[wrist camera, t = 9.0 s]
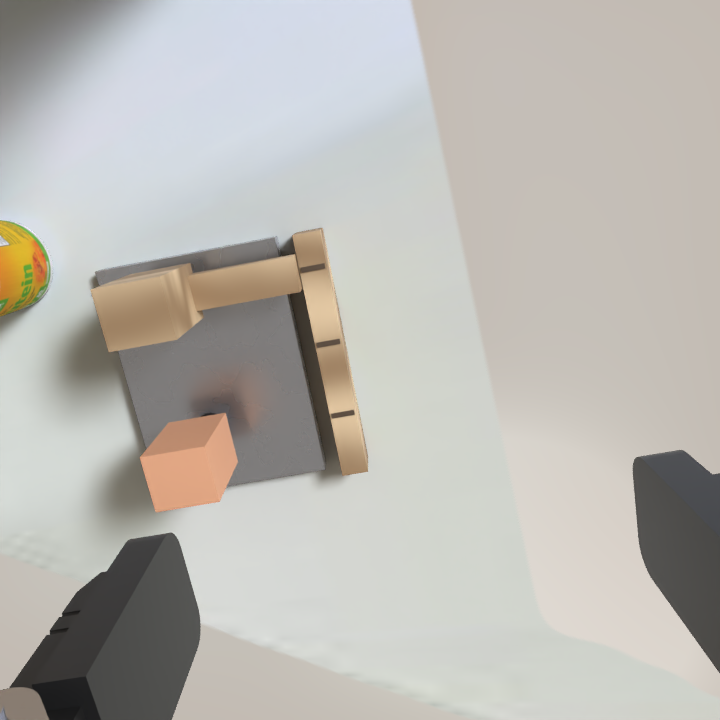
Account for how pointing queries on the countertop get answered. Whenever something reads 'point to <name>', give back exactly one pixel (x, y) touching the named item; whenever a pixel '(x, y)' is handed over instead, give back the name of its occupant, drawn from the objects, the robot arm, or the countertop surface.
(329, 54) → the countertop surface
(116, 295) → the gauge rule
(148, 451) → the block
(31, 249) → the supplement bottle
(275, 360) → the bolt plate
